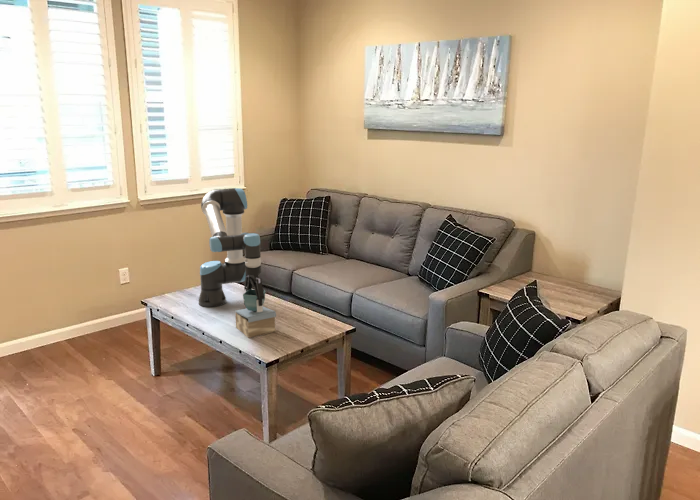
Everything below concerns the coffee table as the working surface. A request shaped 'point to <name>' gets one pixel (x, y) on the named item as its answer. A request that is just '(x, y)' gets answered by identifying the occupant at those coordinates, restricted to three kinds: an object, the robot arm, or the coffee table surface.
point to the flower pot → (251, 299)
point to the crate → (255, 326)
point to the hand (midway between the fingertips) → (254, 308)
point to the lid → (256, 314)
